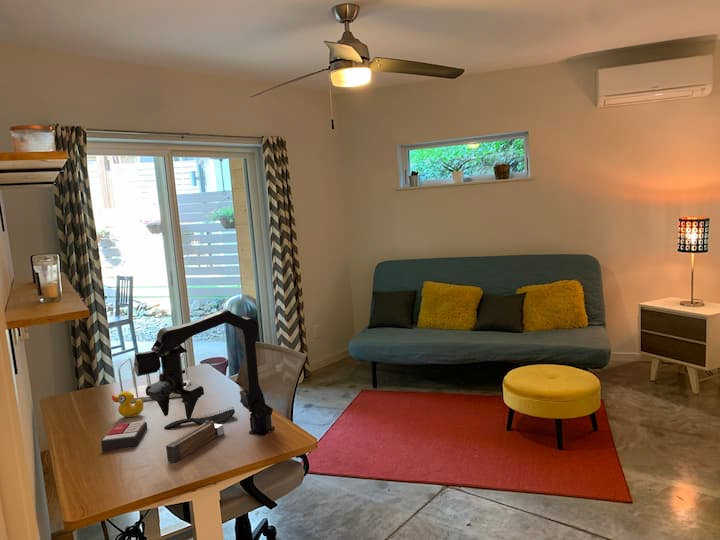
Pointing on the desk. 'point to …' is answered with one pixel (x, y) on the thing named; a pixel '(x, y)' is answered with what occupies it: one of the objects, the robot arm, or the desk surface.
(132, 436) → the calculator
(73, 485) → the desk surface
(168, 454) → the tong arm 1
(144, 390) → the file sorter
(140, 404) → the duckling
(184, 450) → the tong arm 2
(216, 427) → the tong hinge block
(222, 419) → the hairbrush
